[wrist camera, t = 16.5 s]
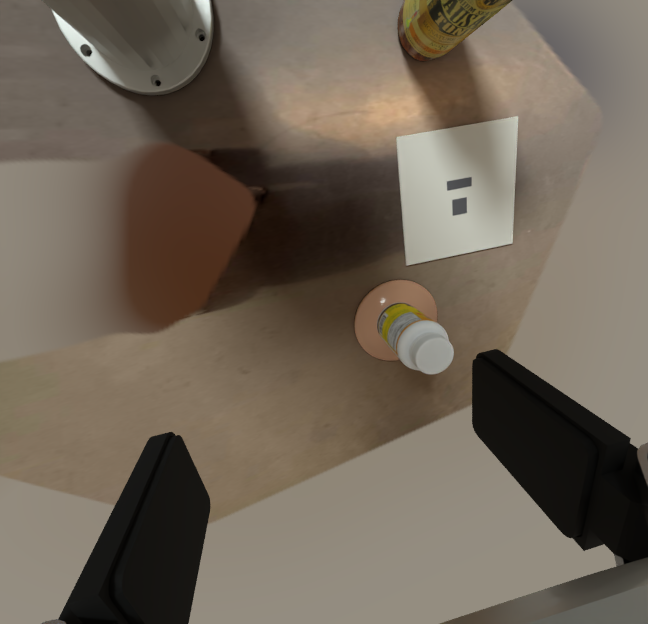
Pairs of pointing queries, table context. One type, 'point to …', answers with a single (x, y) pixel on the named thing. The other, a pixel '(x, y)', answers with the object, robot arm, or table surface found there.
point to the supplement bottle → (415, 338)
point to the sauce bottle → (441, 24)
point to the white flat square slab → (457, 189)
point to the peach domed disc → (381, 299)
